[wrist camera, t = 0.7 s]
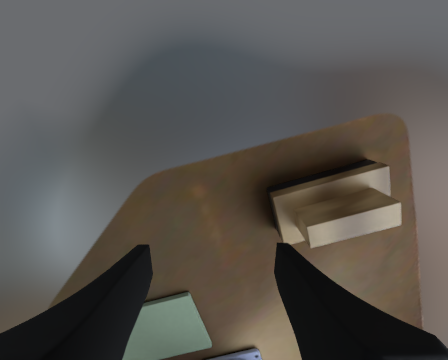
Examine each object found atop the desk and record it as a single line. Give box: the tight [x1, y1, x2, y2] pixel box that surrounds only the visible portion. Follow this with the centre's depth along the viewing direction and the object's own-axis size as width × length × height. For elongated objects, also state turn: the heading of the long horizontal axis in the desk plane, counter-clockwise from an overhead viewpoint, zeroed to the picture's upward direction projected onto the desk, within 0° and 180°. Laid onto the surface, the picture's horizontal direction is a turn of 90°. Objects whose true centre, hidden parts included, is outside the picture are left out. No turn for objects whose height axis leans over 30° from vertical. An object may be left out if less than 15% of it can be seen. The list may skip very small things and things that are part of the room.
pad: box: [122, 292, 212, 360], centre depth 26 cm, size 9×13×1 cm
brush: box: [267, 160, 401, 248], centre depth 19 cm, size 10×5×6 cm, turn 106°
